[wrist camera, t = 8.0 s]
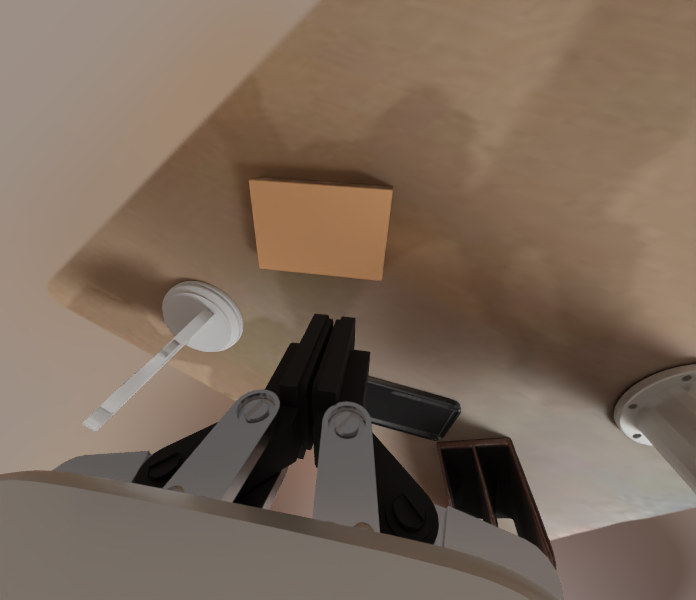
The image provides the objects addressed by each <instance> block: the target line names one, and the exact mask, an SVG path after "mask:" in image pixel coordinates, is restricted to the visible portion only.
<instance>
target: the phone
mask: <svg viewBox="0 0 696 600" xmlns="http://www.w3.org/2000/svg"><path fill="white" fill-rule="evenodd" d="M364 408H365V409H366V410H367V412H368V413H369V415H370V418H371V423H372V424H375V425H379V426H382V427H386V428H390V429H393V430H397V431H400V432H404V433H408V434H411V435H415V436H418V437H422V438H426V439H429V440H433V441H438V440H441V439H442V438H443V437H444V436H445V434H446V433H447V431H448V430H449V429H450V427H451V426H452V424H453V423H454V422H455V420H456V419H457V417H458V416H459V415H460V413H461V407H460V404H459V403H458V402H457V401H454V400H451V399H447V398H444V397H440V396H437V395H433V394H429V393H426V392H422V391H419V390H415V389H411V388H408V387H404V386H401V385H397V384H394V383H390V382H386V381H383V380H379V379H376V378H372V377H368V383H367V391H366V399H365V407H364Z"/></svg>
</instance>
